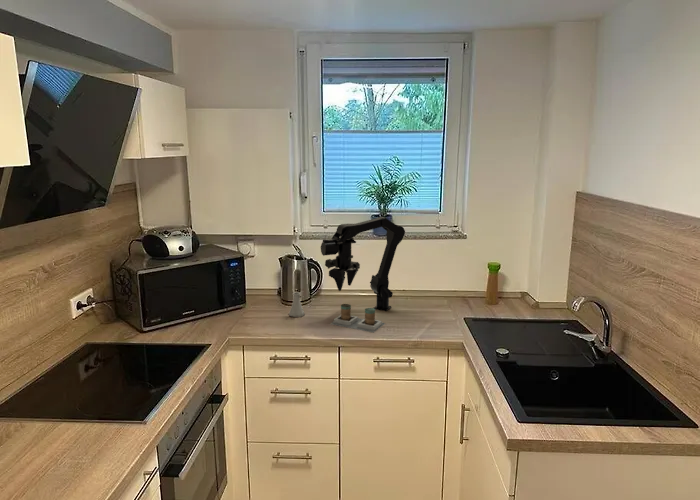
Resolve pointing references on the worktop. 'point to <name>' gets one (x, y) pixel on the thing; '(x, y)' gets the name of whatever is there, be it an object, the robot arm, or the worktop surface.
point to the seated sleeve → (370, 316)
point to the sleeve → (346, 312)
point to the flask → (296, 306)
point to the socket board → (357, 324)
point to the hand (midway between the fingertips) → (344, 288)
